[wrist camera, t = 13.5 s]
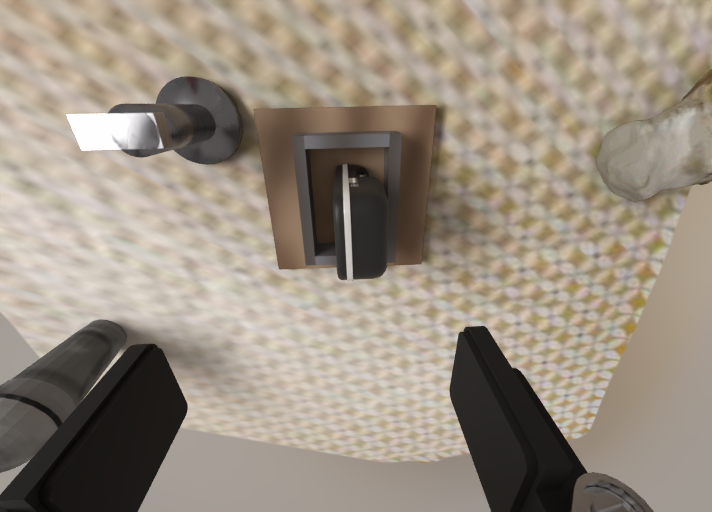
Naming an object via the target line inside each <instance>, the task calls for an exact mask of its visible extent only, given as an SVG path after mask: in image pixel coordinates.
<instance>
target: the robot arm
mask: <svg viewBox="0 0 712 512" xmlns="http://www.w3.org/2000/svg"><path fill="white" fill-rule="evenodd" d="M450 397H451V401H452V404H453V406H454V409H455V412H456V415H457V417H458V420H459V423H460V426H461V429H462V431H463V434H464V437H465V440H466V443H467V445H468V448H469V451H470V454H471V456H472V459H473V462H474V465H475V468H476V470H477V473H478V476H479V479H480V482H481V484H482V487H483V490H484V492H485V495H486V498H487V501H488V504H489V507H490V509H491V512H653V510H652V509H651V508H650V507H649V505H648V504H647V503H646V502H645V500H644V499H643V498H641V497H640V496H639V495H638V494H637V493H636V492H635V491H634V490H632V489H631V488H630V487H628V486H627V485H625V484H624V483H622V482H620V481H619V480H617V479H615V478H613V477H610V476H608V475H606V474H601V473H594V472H592V473H587V471H586V470H585V468H584V467H583V465H582V464H581V462H580V461H579V459H578V457H577V456H576V454H575V453H574V451H573V450H572V448H571V447H570V445H569V444H568V442H567V441H566V439H565V438H564V436H563V435H562V433H561V432H560V430H559V428H558V427H557V425H556V424H555V422H554V421H553V419H552V418H551V416H550V415H549V413H548V412H547V410H546V409H545V407H544V406H543V404H542V403H541V401H540V399H539V398H538V396H537V395H536V393H535V392H534V390H533V389H532V387H531V386H530V384H529V383H528V381H527V380H526V378H525V377H524V375H523V374H522V373H521V371H519V370H518V369H516V368H512V367H511V366H510V364H509V362H508V361H507V359H506V358H505V356H504V355H503V353H502V351H501V350H500V348H499V347H498V345H497V343H496V342H495V340H494V339H493V337H492V335H491V334H490V332H489V331H488V329H487V328H486V327H485V326H476V327H465V329H464V332H460V333H459V336H458V342H457V348H456V354H455V360H454V366H453V372H452V378H451V384H450ZM187 408H188V406H187V402H186V400H185V398H184V395H183V393H182V391H181V389H180V387H179V385H178V383H177V380H176V378H175V376H174V374H173V372H172V370H171V368H170V365H169V363H168V361H167V359H166V357H165V355H164V353H163V351H162V349H160V348H158V347H157V345H155V344H138V345H132V346H130V347H129V348H128V349H127V350H126V351H125V352H124V353H123V355H122V356H121V357H120V358H119V359H118V360H117V362H116V363H115V364H114V365H113V366H112V367H111V368H110V370H109V371H108V372H107V373H106V374H105V375H104V376H103V378H102V379H101V380H100V381H99V382H98V383H97V384H96V386H95V387H94V388H93V389H92V390H91V391H90V392H89V394H88V395H87V396H86V397H85V398H84V399H83V401H82V402H81V403H80V404H79V405H78V406H77V407H76V409H75V410H74V411H73V412H72V413H71V414H70V415H69V417H68V418H67V419H66V420H65V421H64V422H63V423H62V425H61V426H60V427H59V428H58V429H57V430H56V432H55V433H54V434H53V435H52V436H51V437H50V438H49V440H48V441H47V442H46V443H45V444H44V445H43V446H42V448H41V449H40V450H39V451H38V452H37V453H36V454H35V456H34V457H33V458H32V459H31V460H30V461H29V462H28V464H27V465H26V466H25V467H24V468H23V469H22V471H21V472H20V473H19V474H18V475H17V476H16V477H15V479H14V480H13V481H12V482H11V483H10V484H9V485H8V487H7V488H6V489H5V490H4V491H3V492H2V494H1V495H0V512H138V510H139V508H140V506H141V504H142V502H143V500H144V498H145V496H146V494H147V492H148V490H149V488H150V486H151V484H152V482H153V480H154V478H155V476H156V474H157V472H158V470H159V468H160V466H161V464H162V462H163V460H164V458H165V456H166V454H167V452H168V450H169V448H170V446H171V444H172V442H173V440H174V438H175V436H176V434H177V432H178V430H179V428H180V426H181V424H182V422H183V420H184V418H185V416H186V414H187Z"/></svg>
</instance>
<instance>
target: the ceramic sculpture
mask: <svg viewBox="0 0 712 512" xmlns="http://www.w3.org/2000/svg"><path fill="white" fill-rule="evenodd" d="M596 166H597V168H598V170H599V172H600V174H601V176H602V179H603V181H604V183H605V184H606V185H607V186H608V187H609V189H610V190H611V191H612V192H614V193H615V194H617V195H619V196H621V197H624V198H627V199H629V200H631V201H633V202H636V201H639V200H644V199H647V198H650V197H652V196H653V195H655V194H656V193H658V192H659V191H660V190H665V189H676V188H681V187H685V186H690V185H695V184H699V185H703V184H707V183H709V182H710V181H712V70H711V71H709V72H708V73H707V74H705V75H704V76H703V78H702V79H701V80H700V81H699V82H698V83H697V84H696V85H695V86H694V87H693V89H692V90H691V91H690V92H689V93H688V94H687V95H686V96H685V97H684V98H683V99H682V101H681V102H680V103H679V104H677V105H676V106H674V107H671V108H669V109H667V110H666V111H664V112H663V113H661V114H659V115H658V116H656V117H654V118H652V119H650V120H636V121H633V122H629V123H625V124H622V125H620V126H618V127H616V128H615V129H613V130H611V131H610V132H609V133H608V134H606V136H605V137H604V139H603V141H602V144H601V148H600V151H599V153H598V156H597V159H596Z"/></svg>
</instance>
